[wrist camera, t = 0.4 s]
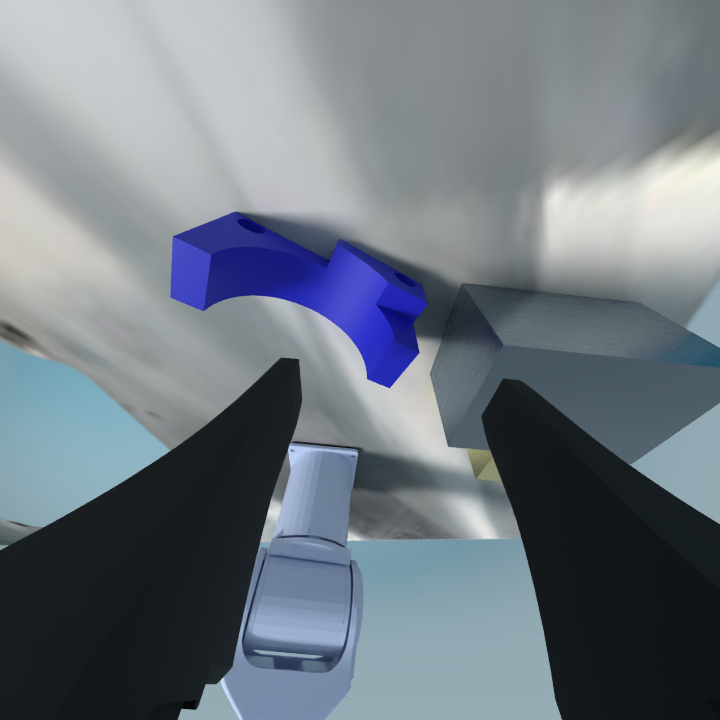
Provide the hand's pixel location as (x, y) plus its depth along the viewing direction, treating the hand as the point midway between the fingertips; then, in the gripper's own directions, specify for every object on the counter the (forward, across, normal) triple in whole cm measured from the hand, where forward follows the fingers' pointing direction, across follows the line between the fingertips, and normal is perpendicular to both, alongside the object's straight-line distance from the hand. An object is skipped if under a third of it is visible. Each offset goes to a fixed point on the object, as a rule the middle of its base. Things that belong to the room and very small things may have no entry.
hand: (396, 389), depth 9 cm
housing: (+10, -11, +4) cm, 15 cm away
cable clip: (+10, +4, 0) cm, 11 cm away
